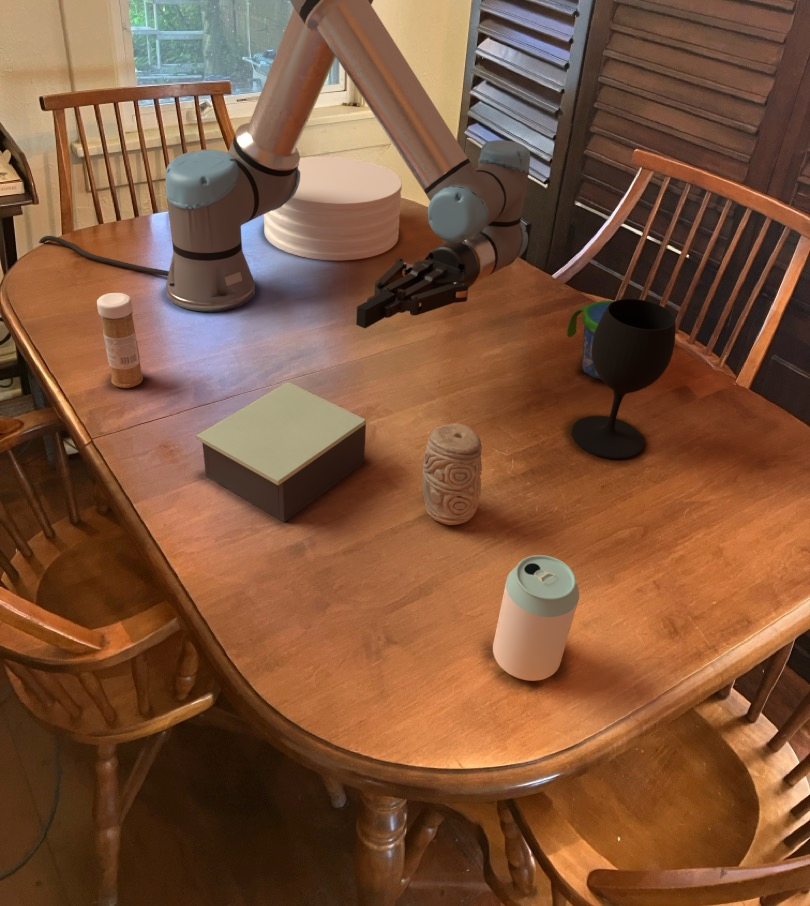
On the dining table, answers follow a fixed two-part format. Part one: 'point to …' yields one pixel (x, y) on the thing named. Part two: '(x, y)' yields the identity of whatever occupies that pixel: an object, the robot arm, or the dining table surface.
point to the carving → (452, 473)
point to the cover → (281, 432)
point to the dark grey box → (295, 489)
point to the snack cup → (588, 332)
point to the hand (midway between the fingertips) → (361, 317)
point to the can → (535, 617)
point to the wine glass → (625, 371)
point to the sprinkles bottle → (120, 339)
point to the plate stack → (338, 211)
